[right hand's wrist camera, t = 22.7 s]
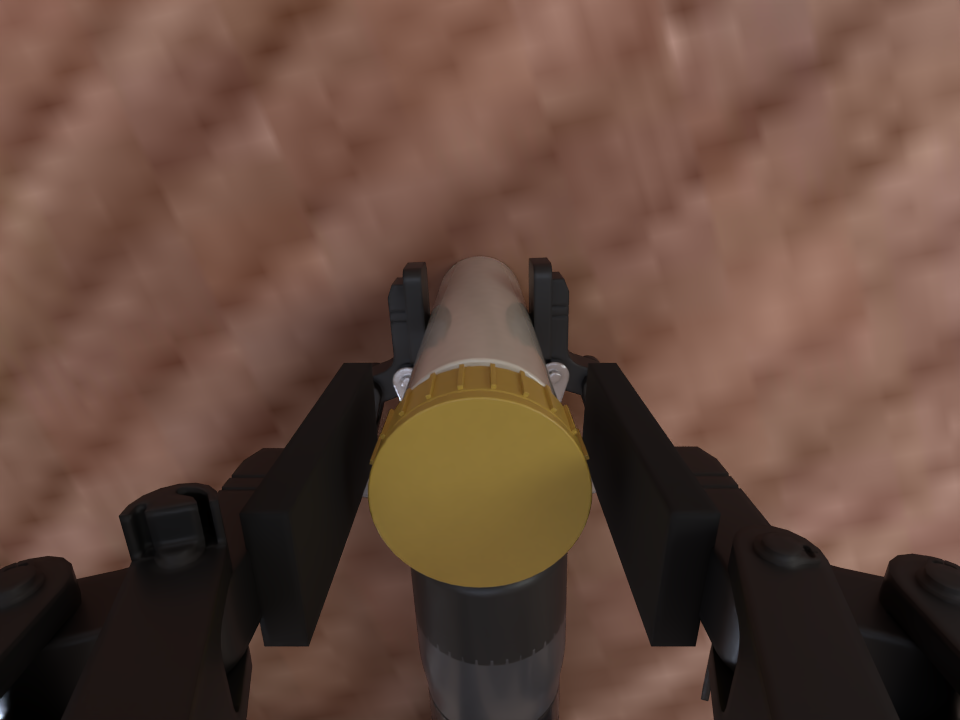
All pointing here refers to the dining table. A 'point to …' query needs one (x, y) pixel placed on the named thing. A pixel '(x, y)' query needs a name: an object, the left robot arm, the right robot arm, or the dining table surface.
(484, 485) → the lid
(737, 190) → the dining table surface
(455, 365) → the beige bottle
